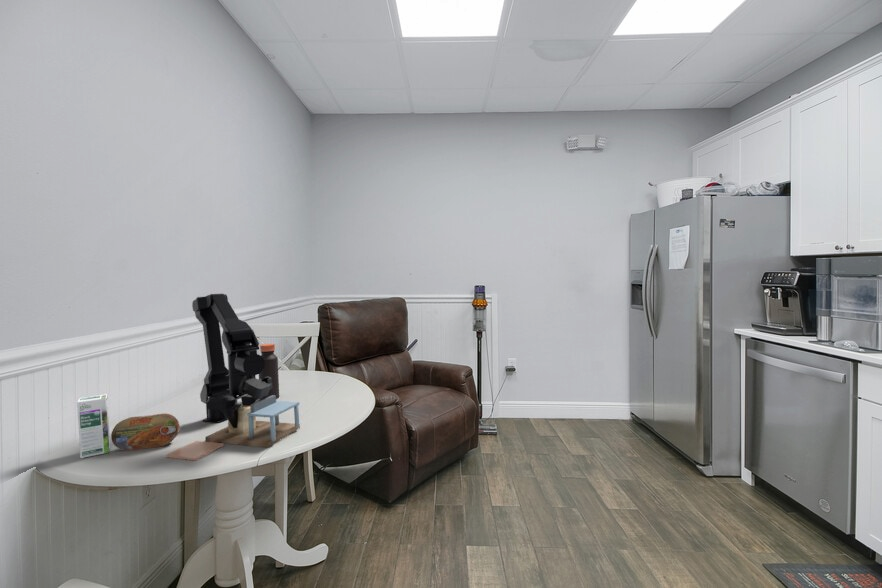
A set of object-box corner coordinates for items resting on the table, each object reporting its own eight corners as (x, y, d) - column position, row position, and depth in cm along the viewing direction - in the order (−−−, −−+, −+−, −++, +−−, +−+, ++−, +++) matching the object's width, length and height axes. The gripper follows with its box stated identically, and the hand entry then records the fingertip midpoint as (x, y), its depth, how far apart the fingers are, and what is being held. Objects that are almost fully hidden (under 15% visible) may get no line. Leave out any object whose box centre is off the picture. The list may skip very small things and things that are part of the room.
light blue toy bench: (248, 438, 109) (246, 406, 109) (276, 423, 120) (275, 394, 120) (273, 441, 107) (272, 407, 107) (300, 425, 118) (298, 395, 118)
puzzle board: (205, 441, 111) (205, 436, 111) (242, 423, 125) (242, 419, 125) (267, 447, 106) (267, 442, 106) (299, 428, 120) (299, 424, 120)
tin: (111, 452, 105) (109, 420, 105) (117, 448, 108) (115, 416, 108) (177, 444, 110) (176, 413, 109) (181, 440, 113) (180, 410, 112)
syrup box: (79, 459, 102) (76, 401, 101) (82, 451, 107) (79, 396, 106) (109, 453, 105) (105, 397, 105) (110, 445, 110) (107, 392, 109)
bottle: (269, 394, 156) (267, 342, 155) (283, 396, 153) (281, 343, 153) (255, 399, 150) (253, 345, 149) (269, 401, 147) (267, 346, 146)
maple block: (228, 434, 115) (227, 410, 115) (241, 428, 120) (240, 404, 119) (243, 436, 113) (242, 411, 113) (256, 429, 118) (255, 405, 118)
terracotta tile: (166, 457, 102) (166, 454, 102) (196, 443, 110) (196, 440, 110) (195, 460, 99) (195, 458, 99) (223, 445, 108) (223, 443, 108)
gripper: (239, 379, 105) (241, 439, 105) (285, 364, 123) (287, 415, 123) (204, 377, 108) (206, 436, 108) (253, 363, 126) (255, 413, 126)
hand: (242, 424), depth 116 cm, fingers closed on maple block, 5 cm apart
